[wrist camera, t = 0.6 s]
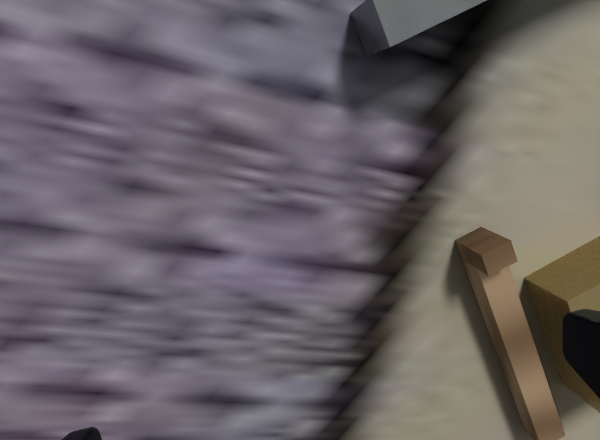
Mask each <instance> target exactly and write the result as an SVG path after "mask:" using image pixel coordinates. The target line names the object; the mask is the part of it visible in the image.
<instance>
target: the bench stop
mask: <svg viewBox="0 0 600 440" xmlns="http://www.w3.org/2000/svg"><path fill="white" fill-rule="evenodd" d="M485 1H487V0H366V1H365V2H364V3H362V4H361V5H360V6H359V7H357V8H356V9H355V10H354V11H352V12H351V13H350V14H351V17H352V19H353V22H354V25H355V27H356V30H357V32H358V35H359V38H360V40H361V43H362V45H363V48H364V51H365V53H366V56H369V55H372V54H374V53H377V52H379V51H382V50H384V49H387V48H389V47H392V46H394V45H396V44H398V43H400V42H402V41H404V40H406V39H408V38H410V37H412V36H414V35H416V34H418V33H420V32H423V31H425V30H427V29H429V28H431V27H433V26H435V25H437V24H439V23H441V22H443V21H445V20H447V19H449V18H451V17H454V16H456V15H458V14H460V13H462V12H464V11H466V10H468V9H470V8H472V7H474V6H476V5H478V4H480V3H482V2H485Z"/></svg>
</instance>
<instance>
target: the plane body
mask: <svg viewBox="0 0 600 440" xmlns="http://www.w3.org/2000/svg"><path fill="white" fill-rule="evenodd" d="M455 242H456V245H457V247H458V250H459V253H460V255H461V258H462V261H463V263H464V266H465V269H466V272H467V274H468V277H469V280H470V282H471V285H472V288H473V291H474V293H475V296H476V299H477V301H478V304H479V307H480V309H481V312H482V315H483V318H484V320H485V323H486V326H487V328H488V331H489V334H490V337H491V339H492V342H493V345H494V347H495V350H496V353H497V356H498V358H499V361H500V364H501V366H502V369H503V372H504V374H505V377H506V380H507V383H508V385H509V388H510V391H511V393H512V396H513V399H514V402H515V404H516V407H517V410H518V412H519V415H520V418H521V420H522V423H523V426H524V429H525V431H526V432H527V433H528V434H529V435H530V436H531V437H532V438H533V439H534V440H558V439H560V438H562V437H564V436H565V433H564V430H563V427H562V424H561V421H560V418H559V415H558V412H557V409H556V406H555V403H554V400H553V397H552V394H551V391H550V388H549V385H548V382H547V379H546V376H545V373H544V370H543V367H542V364H541V361H540V358H539V355H538V352H537V349H536V346H535V343H534V340H533V337H532V334H531V331H530V328H529V325H528V322H527V319H526V316H525V313H524V310H523V307H522V304H521V302H520V299H519V296H518V293H517V290H516V287H515V284H514V281H513V278H512V275H511V272H510V269H509V265H511V264H513V263H515V262H517V258H516V255H515V252H514V249H513V246H512V243H511V240H509V239H507V238H504V237H502V236H500V235H498V234H496V233H493V232H491V231H489V230H487V229H484V228H482V227H480V228H479V229H477V230H475V231H473V232H471V233H469V234H467V235H465V236H463V237H461V238H459V239H457V240H455Z"/></svg>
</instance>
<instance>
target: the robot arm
mask: <svg viewBox="0 0 600 440" xmlns="http://www.w3.org/2000/svg"><path fill="white" fill-rule="evenodd" d="M562 351H563V355H564V357H565V359H566V361H567V362H568V364H569V365H570V366H571V367H572V368H573V370H574V371H575V372H576V373H577V374H578V375H579V376H580V377H581V379H582V380H583V381H584V382H585V383H586V384H587V385H588V387H589V388H590V389H591V390H592V391H593V392H594V393H595V394H596V396H597V397H598V398H599V399H600V311H596V310H590V309H580V310H576V311H572V312H568V313H566V314H565V315H564V316H563V318H562ZM62 440H102V438H101V435H100V432H99V431H98V429H97V428H95V427H90V428H85V429H81V430H77V431H73V432H71V433H69V434H68V435H67V436H66V437H64V438H63V439H62Z"/></svg>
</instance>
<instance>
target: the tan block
mask: <svg viewBox="0 0 600 440" xmlns="http://www.w3.org/2000/svg"><path fill="white" fill-rule="evenodd" d="M524 279H525V282H526V284H527V287H528V290H529V293H530V295H531V298H532V301H533V304H534V306H535V309H536V312H537V315H538V317H539V320H540V323H541V326H542V328H543V331H544V334H545V336H546V339H547V342H548V345H549V347H550V350H551V353H552V356H553V358H554V361H555V364H556V367H557V369H558V372H559V375H560V378H561V380H562V383H563V384H565V385H566V386H567V387H568V388H570V389H571V390H572V391H573V392H575V393H576V394H577V395H578V396H580V397H581V398H582V399H583V400H585V401H586V402H587V403H588V404H590V405H591V406H592V407H593V408H595V409H596V410H597V411H598V412H599V413H600V399H599V398H598V397H597V396H596V394H595V393H594V392H593V391H592V390H591V389H590V388H589V387H588V385H587V384H586V383H585V382H584V381H583V380H582V379H581V377H580V376H579V375H578V374H577V373H576V372H575V371H574V370H573V368H572V367H571V366H570V365H569V364H568V362H567V361H566V359H565V357H564V355H563V351H562V318H563V316H564V315H565V314H566V313H568V312H572V311H576V310H580V309H590V310H596V311H600V236H599V237H597V238H596V239H594V240H592V241H590V242H588V243H586V244H585V245H583V246H581V247H579V248H577V249H576V250H574V251H572V252H570V253H568V254H566V255H565V256H563V257H561V258H559V259H557V260H556V261H554V262H552V263H550V264H548V265H546V266H545V267H543V268H541V269H539V270H537V271H536V272H534V273H532V274H530V275H528V276H526V277H525V278H524Z"/></svg>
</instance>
